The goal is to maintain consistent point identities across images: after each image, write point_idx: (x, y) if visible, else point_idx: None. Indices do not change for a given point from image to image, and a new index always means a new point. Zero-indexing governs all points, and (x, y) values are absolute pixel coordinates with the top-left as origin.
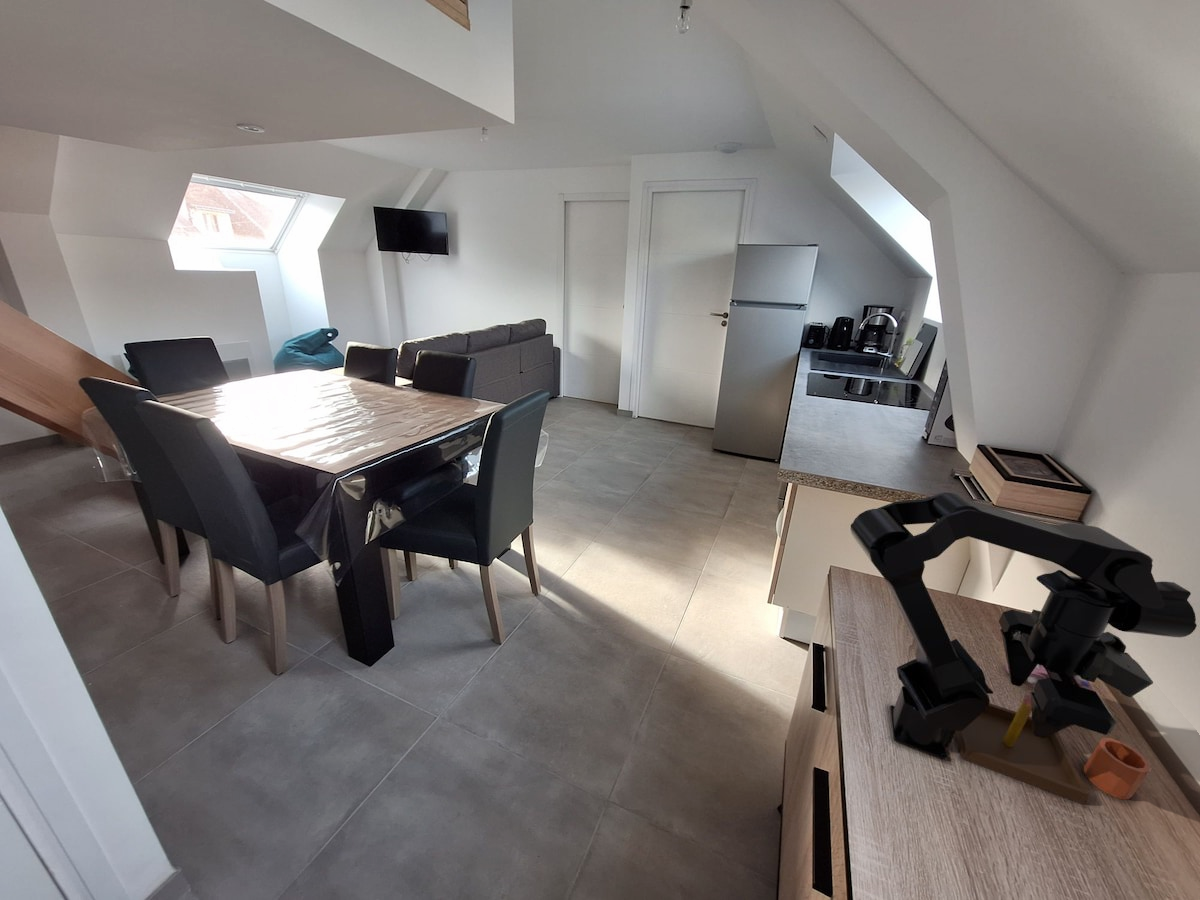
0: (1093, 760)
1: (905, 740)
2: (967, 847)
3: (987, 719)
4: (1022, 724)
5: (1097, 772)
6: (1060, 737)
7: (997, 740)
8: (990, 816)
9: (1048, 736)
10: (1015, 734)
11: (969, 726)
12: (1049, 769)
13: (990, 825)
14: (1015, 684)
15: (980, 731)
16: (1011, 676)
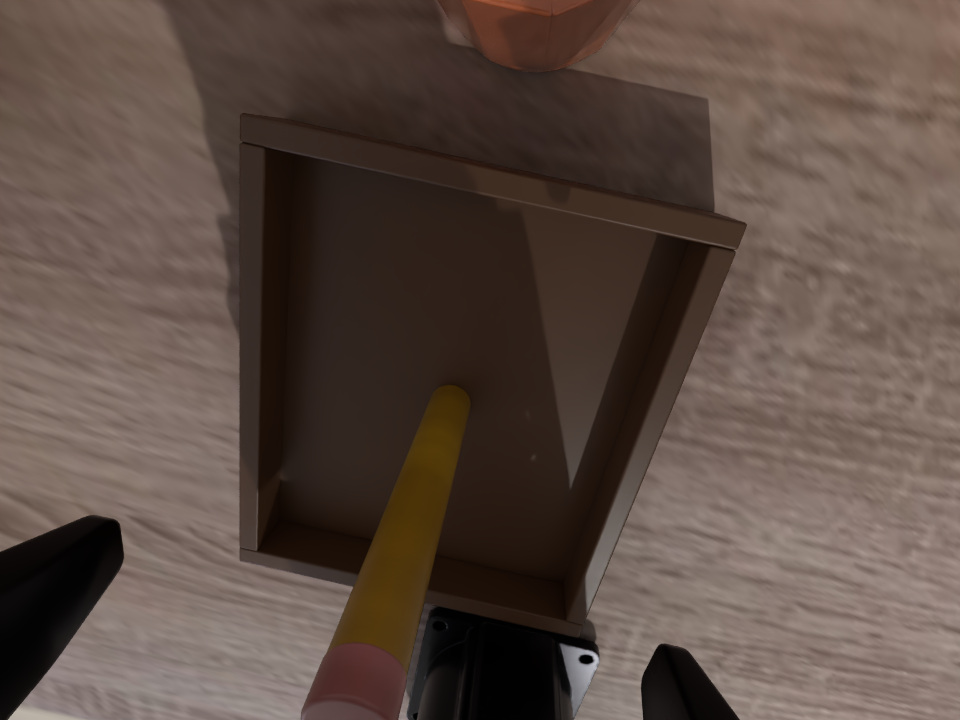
0: (519, 49)
1: None
2: (905, 702)
3: (331, 423)
4: (444, 505)
5: (575, 51)
6: (345, 139)
7: None
8: (800, 602)
9: (719, 692)
10: (458, 456)
11: None
12: (555, 284)
13: (833, 616)
14: (114, 551)
15: None
16: (57, 652)
